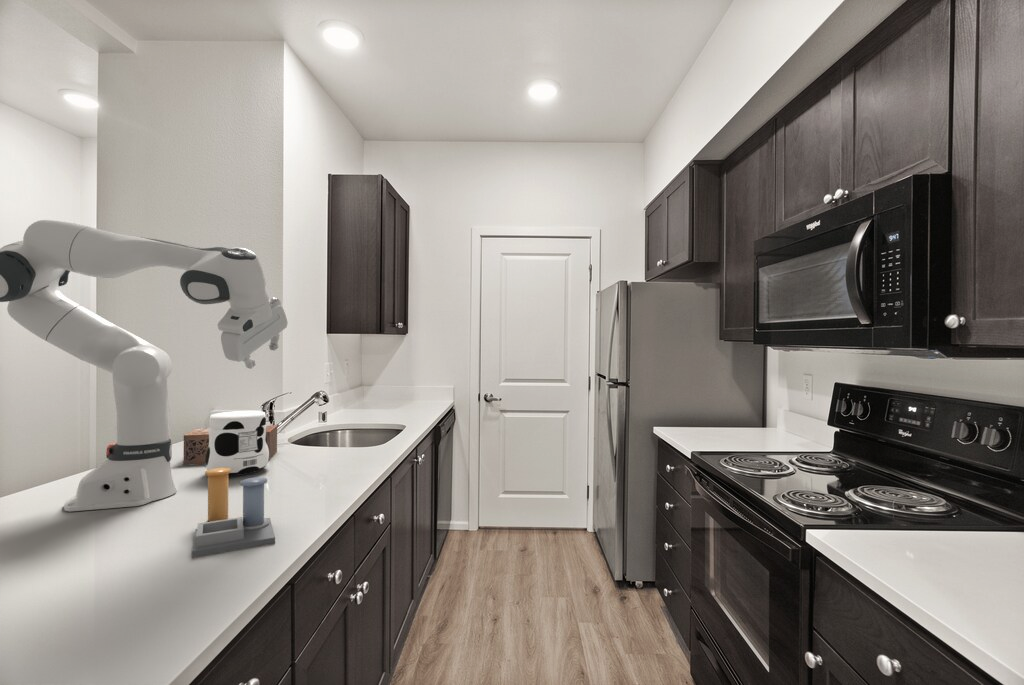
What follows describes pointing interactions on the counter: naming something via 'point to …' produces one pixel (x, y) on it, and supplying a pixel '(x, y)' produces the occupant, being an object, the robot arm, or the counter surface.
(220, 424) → the milk container
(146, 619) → the counter surface
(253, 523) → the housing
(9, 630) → the counter surface
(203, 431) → the tissue box cover
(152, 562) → the counter surface
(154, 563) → the counter surface
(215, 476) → the pin
